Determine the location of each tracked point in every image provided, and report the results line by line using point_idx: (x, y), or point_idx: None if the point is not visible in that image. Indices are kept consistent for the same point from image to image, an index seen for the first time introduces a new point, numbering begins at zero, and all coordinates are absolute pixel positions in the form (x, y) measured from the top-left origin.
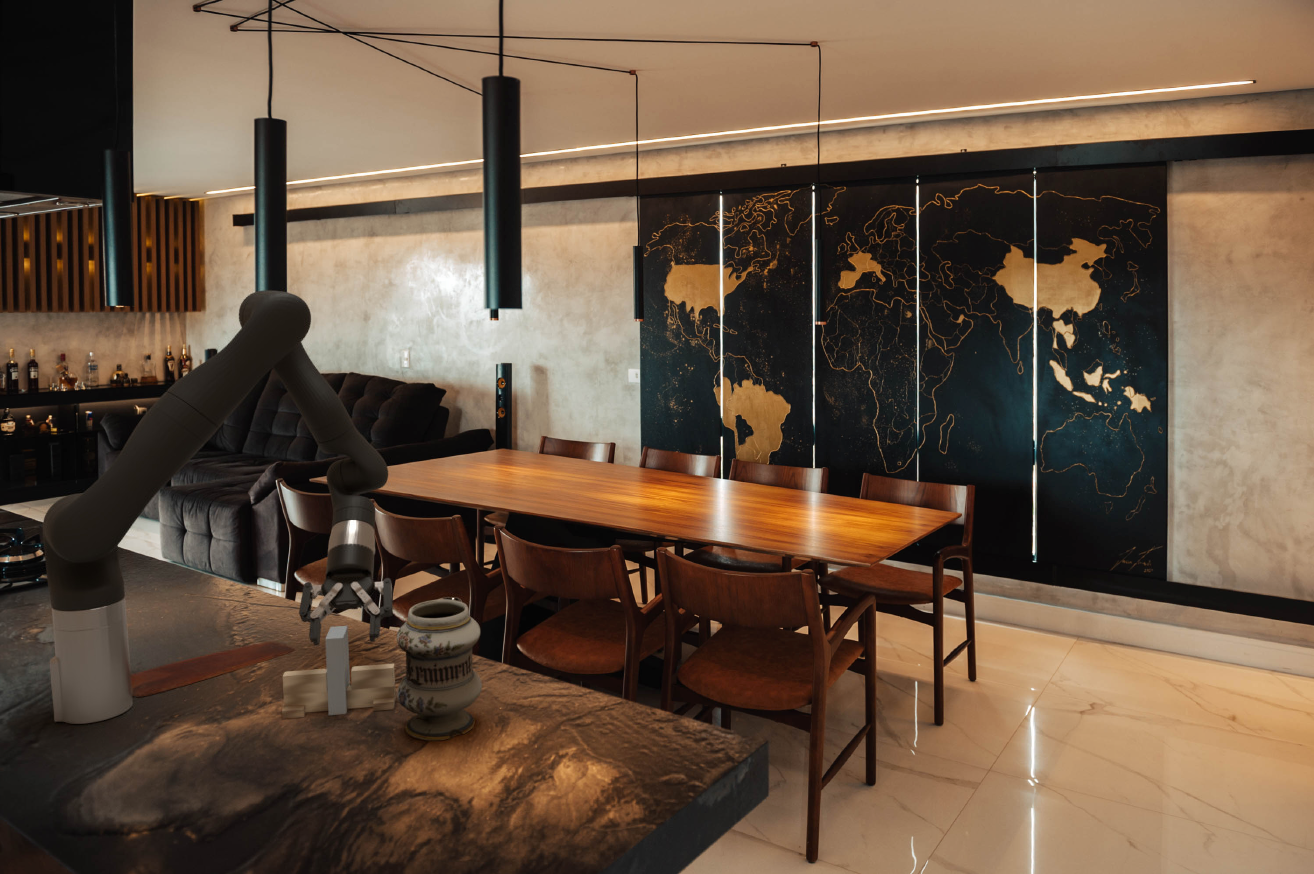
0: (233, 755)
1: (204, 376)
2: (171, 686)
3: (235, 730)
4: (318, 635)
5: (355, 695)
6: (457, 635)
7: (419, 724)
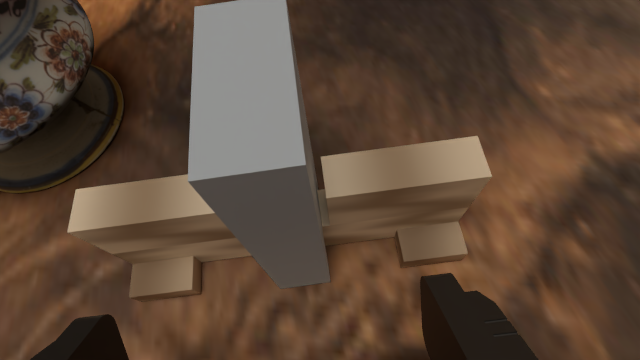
0: (458, 29)
1: None
2: None
3: (524, 120)
4: (435, 326)
5: None
6: None
7: (86, 83)
